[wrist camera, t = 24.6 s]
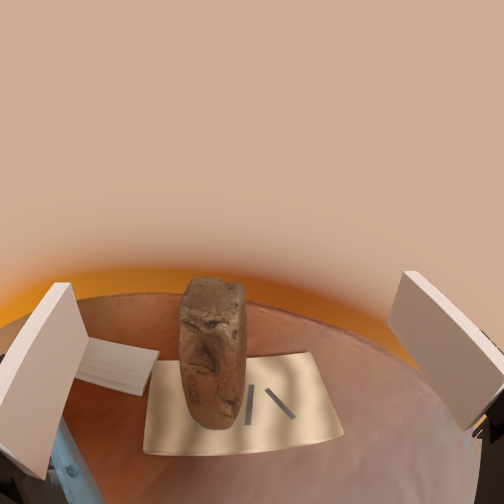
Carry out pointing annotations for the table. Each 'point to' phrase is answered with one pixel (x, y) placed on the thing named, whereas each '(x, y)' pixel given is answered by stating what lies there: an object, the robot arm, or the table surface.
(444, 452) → the table surface
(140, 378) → the baseboard
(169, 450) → the board
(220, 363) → the block
